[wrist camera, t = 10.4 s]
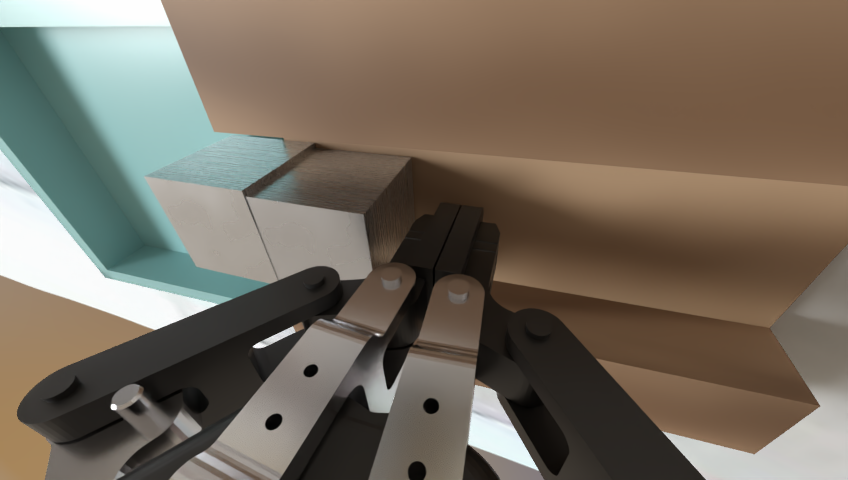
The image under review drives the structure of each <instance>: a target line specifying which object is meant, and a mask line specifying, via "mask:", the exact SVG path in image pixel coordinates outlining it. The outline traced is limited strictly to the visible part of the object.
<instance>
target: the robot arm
mask: <svg viewBox="0 0 848 480" xmlns="http://www.w3.org/2000/svg"><path fill="white" fill-rule="evenodd" d="M483 213H484V209H483V207H475V206H467V205H459V204H451V203H443V202H441V203H440V204H439V206H438V208H437V210H436V212H435V214H434V215H429V214H424V215H423V216H421V217H420V218H418V219H417V220H415V221H414V223H413V224H412V226H411V228H410V229H409V231H408V233H407V234H406V236H405V239H403V241H402V243H401V244H400V246H399V248H398V249H397V251H396V253H395V254H394V256H393V258H392V259H391V261H390V263H386V264H382V265H380V266H378V267H376V268H375V269H373V270H372V271H371V272H370V273H369V275H368V276H367V277H366V278H365V279H354V280H340V277H339V274H338V272H337V271H336V270H335V269H333V268H331V267H328V266H315V267H311V268H308V269H305V270H303V271H300V272H298V273H295V274H293V275H290V276H288V277H285V278H283V279H281V280H278V281H276V282H273V283H271V284H268V285H266V286H263V287H261V288H258V289H256V290H253V291H251V292H249V293H246V294H244V295H241V296H239V297H236V298H234V299H231V300H229V301H226V302H224V303H221V304H219V305H216V306H214V307H212V308H209V309H207V310H204V311H202V312H199V313H197V314H194V315H192V316H189V317H187V318H184V319H182V320H179V321H177V322H175V323H172V324H170V325H167V326H165V327H162V328H160V329H157V330H155V331H152V332H150V333H147V334H145V335H142V336H140V337H138V338H135V339H133V340H130V341H128V342H125V343H123V344H120V345H118V346H115V347H113V348H111V349H108V350H105V351H103V352H101V353H98V354H96V355H93V356H91V357H88V358H86V359H84V360H81V361H79V362H76V363H74V364H71V365H68V366H66V367H64V368H62V369H60V370H58V371H56V372H54V373H53V374H51V375H49V376H48V377H46V378H45V379H43V380H42V381H41V382H40V383H38V384H37V385H36V386H35V387H34V388H33V389H32V390H31V391H29V393H28V394H27V395H26V396H25V397H24V399H23V400H22V401H21V403H20V405H19V407H18V410H17V416H18V419H19V420H20V421H21V422H22V423H24V424H25V425H27V426H29V427H30V428H32V429H33V430H35V431H36V432H38V433H40V434H41V435H42V436H44V437H46V440H47V441H48V442H49V443H50V444H51V452H50V458H49V463H48V468H47V472H46V477H45V480H500V478H499V476H498V475H497V474H496V472H495V471H494V470H493V468H492V467H491V466H490V464H488V462H487V461H486V460H485V459H484V458H483V457H482V456H481V455H480V454H479V453H477V452H476V451H475V450H474V449H473V448H472V447H470V446H469V445H468V440H469V431H470V422H471V413H472V404H473V396H474V387H475V379H477V380H479V381H480V382H482V383H484V384H485V385H487V386H488V387H490V388H491V389H493V390H495V391H496V392H497V396H498V399H499V401H500V403H501V405H502V407H503V408H504V410H505V412H506V414H507V415H508V417H509V419H510V421H511V422H512V424H513V426H514V428H515V429H516V431H517V433H518V435H519V436H520V438H521V440H522V441H523V443H524V445H525V447H526V448H527V450H528V452H529V454H530V455H531V457H532V459H533V461H534V462H535V464H536V466H537V468H538V469H539V471H540V473H541V475H542V476H543V478H544V480H706V479H705V478H704V477H703V476H702V475H701V474H700V473H699V472H698V471H697V470H696V468H695V467H694V466H693V465H692V464H691V463H690V462H689V461H688V460H687V459H686V457H685V456H684V455H683V454H682V453H681V452H680V451H679V450H678V449H677V448H676V446H675V445H674V444H673V443H672V442H671V441H670V440H669V439H668V438H667V437H666V435H665V434H664V433H663V432H662V431H661V430H660V429H659V428H658V427H657V426H656V424H655V423H654V422H653V421H652V420H651V419H650V418H649V417H648V416H647V415H646V413H645V412H644V411H643V410H642V409H641V408H640V407H639V406H638V405H637V404H636V402H635V401H634V400H633V399H632V398H631V397H630V396H629V395H628V394H627V393H626V391H625V390H624V389H623V388H622V387H621V386H620V385H619V384H618V383H617V382H616V380H615V379H614V378H613V377H612V376H611V375H610V374H609V373H608V372H607V371H606V370H605V368H604V367H603V366H602V365H601V364H600V363H599V362H598V361H597V360H596V359H595V357H594V356H593V355H592V354H591V353H590V352H589V351H588V350H587V349H586V348H585V346H584V345H583V344H582V343H581V342H580V341H579V340H578V339H577V338H576V337H575V335H574V334H573V333H572V332H571V331H570V330H569V329H568V328H567V327H566V326H565V324H564V323H563V322H562V321H561V320H560V319H559V318H557V317H556V316H555V315H553V314H551V313H549V312H547V311H544V310H541V309H535V308H527V309H522V310H519V311H517V312H515V313H514V312H512V311H510V310H508V309H506V308H504V307H502V306H501V305H499V304H498V303H497V302H496V301H495V300H494V299H493V298H492V296H491V294H490V293H491V288H492V284H493V279H494V274H495V269H496V263H497V255H498V247H499V239H500V232H499V229H498V227H497V225H496V224H494V223H487V222H483ZM300 322H302V325H303V327H304V329H302V330H300V331H298V332H295V333H293V334H291V335H289V336H287V337H285V338H283V339H281V340H279V341H277V342H275V343H273V344H271V345H269V346H266V347H264V348H253V346H254V345H255V344H257V343H258V342H260V341H262V340H265V339H267V338H269V337H271V336H273V335H275V334H277V333H279V332H281V331H284V330H286V329H288V328H290V327H292V326H294V325H296V324H298V323H300ZM394 395H395V396H394ZM393 398H394V399H393ZM392 401H393V402H392Z"/></svg>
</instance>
